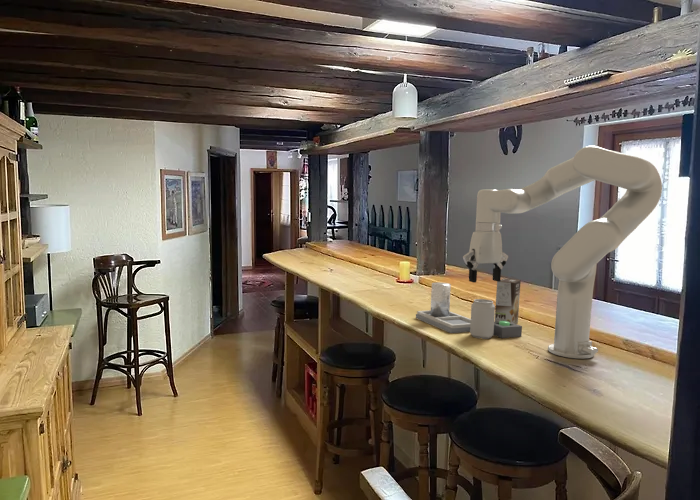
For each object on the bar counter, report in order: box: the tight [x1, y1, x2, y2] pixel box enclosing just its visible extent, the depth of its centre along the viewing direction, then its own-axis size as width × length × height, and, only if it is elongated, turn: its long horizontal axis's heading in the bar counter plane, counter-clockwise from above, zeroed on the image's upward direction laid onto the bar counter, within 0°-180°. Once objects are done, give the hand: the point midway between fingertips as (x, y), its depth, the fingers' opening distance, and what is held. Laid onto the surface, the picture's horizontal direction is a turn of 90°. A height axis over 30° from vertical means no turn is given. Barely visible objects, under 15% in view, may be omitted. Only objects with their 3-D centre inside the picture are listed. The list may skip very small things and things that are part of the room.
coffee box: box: [494, 278, 522, 325], centre depth 193 cm, size 9×6×16 cm
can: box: [469, 298, 496, 340], centre depth 174 cm, size 8×8×12 cm
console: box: [493, 320, 523, 339], centre depth 178 cm, size 8×8×4 cm
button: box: [499, 321, 510, 326], centre depth 178 cm, size 3×3×3 cm
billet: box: [430, 281, 452, 317], centre depth 195 cm, size 7×7×12 cm
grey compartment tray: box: [415, 309, 471, 334], centre depth 191 cm, size 23×13×3 cm, turn 23°
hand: (484, 281), depth 173 cm, fingers open, 9 cm apart
